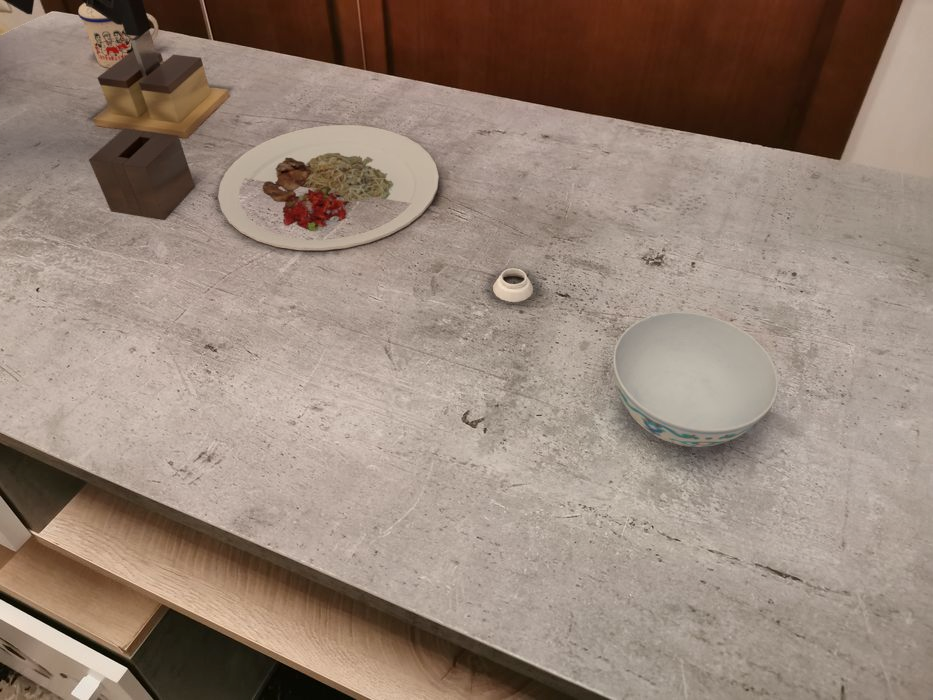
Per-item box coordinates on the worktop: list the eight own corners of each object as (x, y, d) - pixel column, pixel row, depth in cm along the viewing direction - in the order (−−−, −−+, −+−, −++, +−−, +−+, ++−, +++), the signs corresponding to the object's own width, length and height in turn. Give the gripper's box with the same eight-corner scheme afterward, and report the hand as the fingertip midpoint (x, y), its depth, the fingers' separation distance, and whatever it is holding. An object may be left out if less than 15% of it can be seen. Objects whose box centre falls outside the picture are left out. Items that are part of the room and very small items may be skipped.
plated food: (414, 124, 114) (412, 104, 112) (462, 237, 94) (462, 216, 92) (218, 152, 109) (212, 131, 106) (225, 278, 89) (218, 256, 86)
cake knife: (149, 108, 116) (104, -21, 102) (162, 97, 118) (120, -31, 104) (162, 110, 115) (119, -20, 101) (175, 98, 118) (135, -30, 104)
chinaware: (621, 348, 80) (632, 296, 74) (762, 385, 76) (785, 333, 71) (586, 452, 70) (596, 401, 65) (745, 501, 67) (770, 451, 61)
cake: (95, 125, 114) (77, 82, 109) (144, 85, 124) (129, 43, 119) (186, 138, 112) (172, 94, 106) (229, 96, 121) (218, 53, 116)
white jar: (491, 281, 88) (491, 309, 85) (491, 262, 86) (492, 290, 82) (532, 281, 88) (534, 310, 84) (534, 262, 86) (536, 291, 82)
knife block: (113, 218, 97) (88, 159, 91) (146, 185, 103) (124, 127, 96) (167, 227, 96) (145, 168, 89) (197, 193, 101) (178, 135, 95)
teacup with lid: (95, 72, 127) (68, 3, 119) (98, 51, 133) (73, -16, 125) (166, 64, 129) (145, -5, 121) (166, 43, 135) (146, -24, 127)
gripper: (-173, -57, 78) (-10, 27, 99) (29, -37, 73) (155, 47, 94) (-163, -128, 77) (-1, -28, 98) (40, -112, 73) (164, -11, 94)
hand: (75, 9), depth 96 cm, fingers open, 13 cm apart
